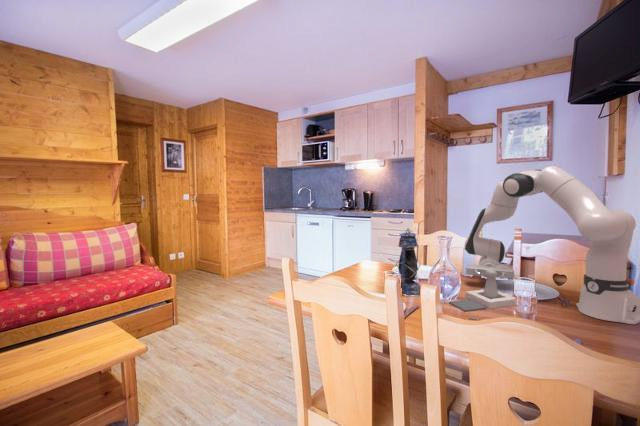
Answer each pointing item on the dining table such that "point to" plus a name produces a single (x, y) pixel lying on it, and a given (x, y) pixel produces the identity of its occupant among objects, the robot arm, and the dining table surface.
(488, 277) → the salt shaker
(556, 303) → the dining table surface
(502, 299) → the socket block
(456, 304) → the rubber pad
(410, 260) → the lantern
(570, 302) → the dining table surface
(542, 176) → the robot arm
